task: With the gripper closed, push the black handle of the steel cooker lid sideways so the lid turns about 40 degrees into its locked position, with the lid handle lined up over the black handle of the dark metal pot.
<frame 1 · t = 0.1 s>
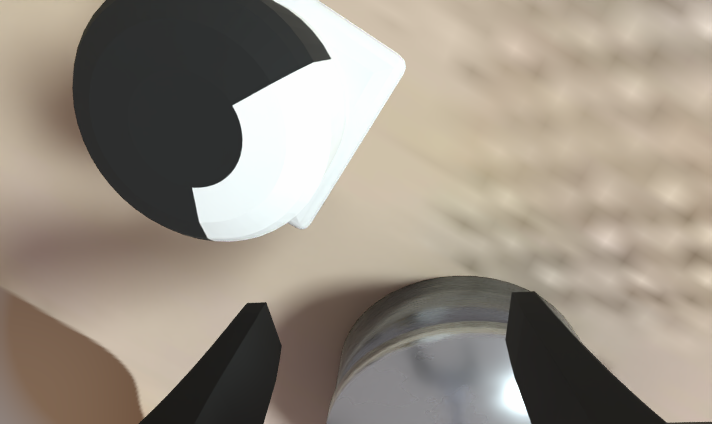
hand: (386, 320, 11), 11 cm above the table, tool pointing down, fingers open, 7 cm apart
medicine bottle: (305, 83, 19), on the table
cooker pot: (456, 375, 26), on the table
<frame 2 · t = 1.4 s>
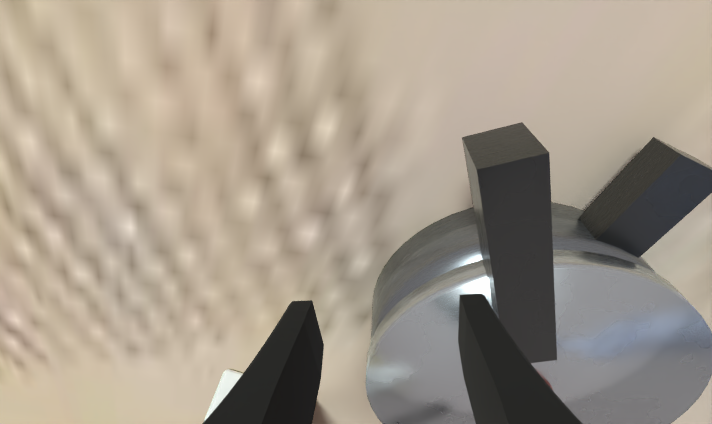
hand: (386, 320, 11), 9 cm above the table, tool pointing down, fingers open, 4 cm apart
medicine bottle: (260, 399, 32), on the table
cooker pot: (499, 309, 24), on the table
cooker lid: (523, 358, 18), point 6 cm above the table, hinge at 40.0°
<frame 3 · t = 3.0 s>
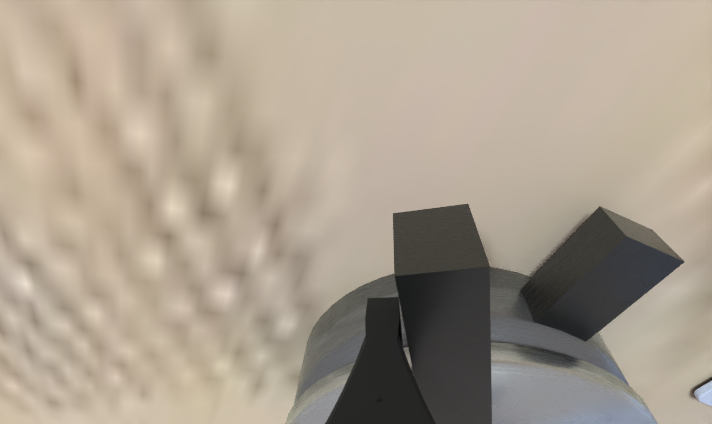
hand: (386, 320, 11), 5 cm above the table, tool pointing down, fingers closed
cooker pot: (445, 373, 21), on the table
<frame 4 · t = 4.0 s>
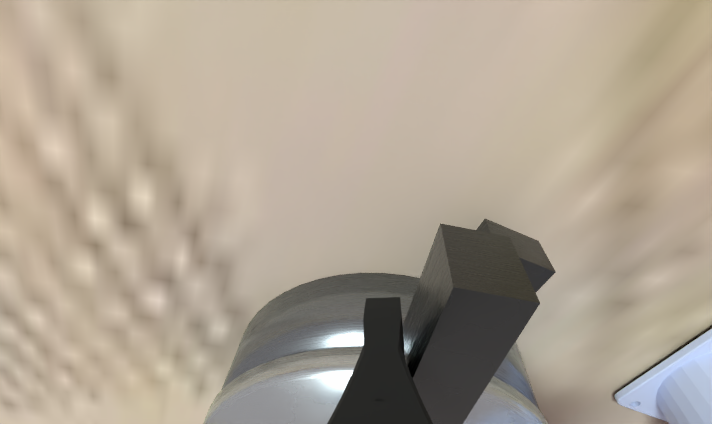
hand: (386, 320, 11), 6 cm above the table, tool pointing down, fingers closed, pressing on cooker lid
cooker pot: (376, 376, 22), on the table
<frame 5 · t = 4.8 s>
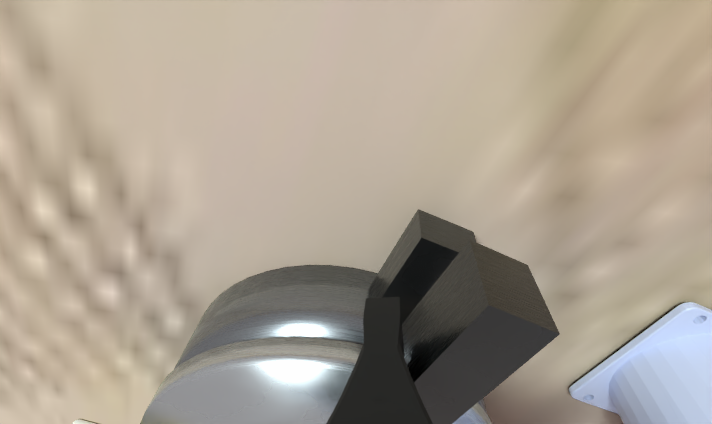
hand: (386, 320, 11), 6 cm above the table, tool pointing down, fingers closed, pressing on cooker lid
cooker pot: (333, 370, 22), on the table
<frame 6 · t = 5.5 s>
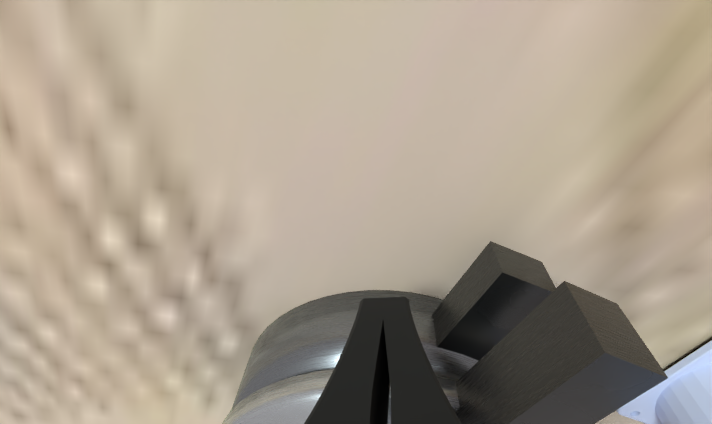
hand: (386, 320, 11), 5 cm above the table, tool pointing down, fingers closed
cooker pot: (382, 388, 22), on the table
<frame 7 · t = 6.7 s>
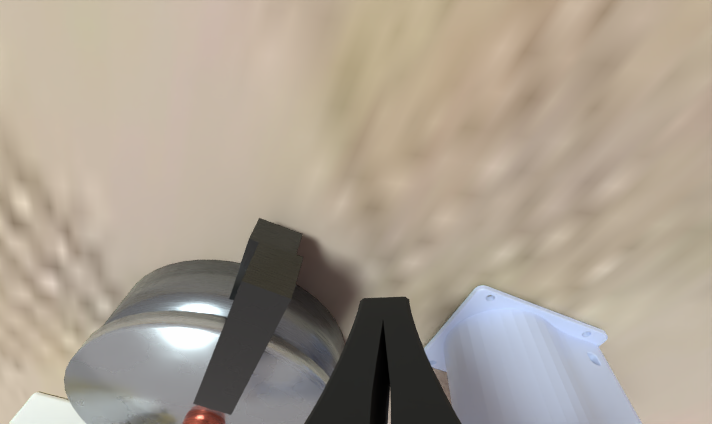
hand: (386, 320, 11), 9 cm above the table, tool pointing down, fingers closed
medicine bottle: (79, 417, 35), on the table
cooker pot: (235, 344, 27), on the table
cooker lid: (215, 399, 21), point 6 cm above the table, hinge at -1.7°
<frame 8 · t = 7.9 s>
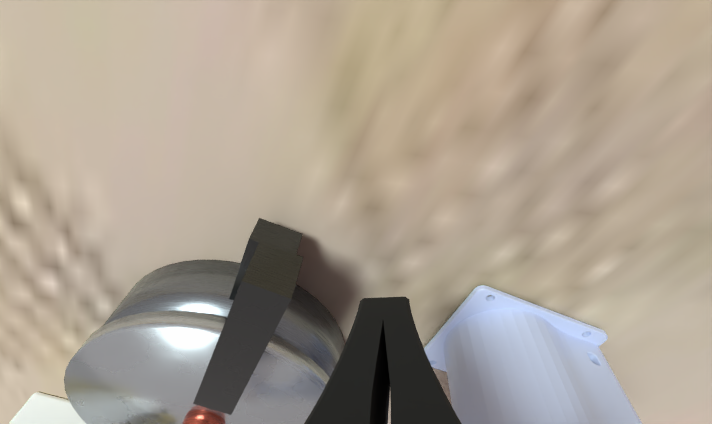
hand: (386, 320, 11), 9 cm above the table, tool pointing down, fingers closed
medicine bottle: (79, 417, 35), on the table
cooker pot: (235, 344, 27), on the table
cooker lid: (215, 399, 21), point 6 cm above the table, hinge at -1.7°
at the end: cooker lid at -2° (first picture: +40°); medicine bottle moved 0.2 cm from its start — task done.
